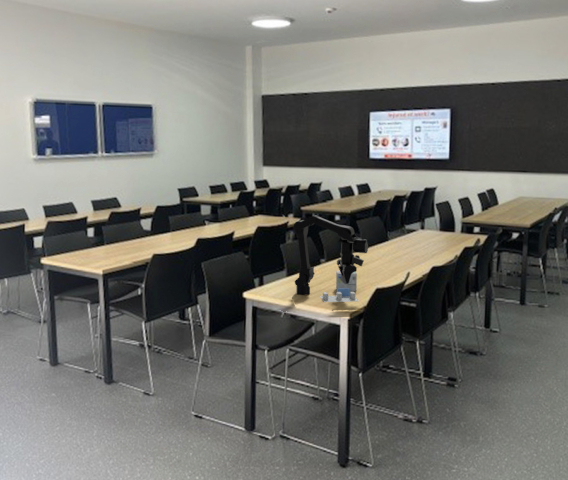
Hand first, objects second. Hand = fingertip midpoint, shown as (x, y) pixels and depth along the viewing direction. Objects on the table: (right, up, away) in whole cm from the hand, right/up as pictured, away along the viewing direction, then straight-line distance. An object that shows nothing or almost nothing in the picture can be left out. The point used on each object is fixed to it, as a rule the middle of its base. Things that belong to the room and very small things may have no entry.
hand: (346, 281), depth 304 cm
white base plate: (-3, -10, +1) cm, 10 cm away
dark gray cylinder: (0, 0, 0) cm, 0 cm away
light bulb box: (+2, -7, +21) cm, 22 cm away
